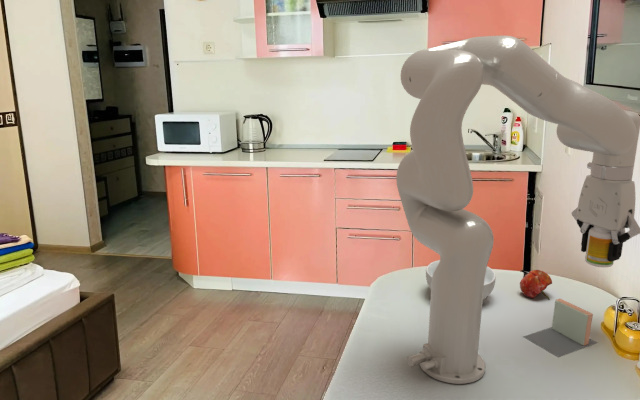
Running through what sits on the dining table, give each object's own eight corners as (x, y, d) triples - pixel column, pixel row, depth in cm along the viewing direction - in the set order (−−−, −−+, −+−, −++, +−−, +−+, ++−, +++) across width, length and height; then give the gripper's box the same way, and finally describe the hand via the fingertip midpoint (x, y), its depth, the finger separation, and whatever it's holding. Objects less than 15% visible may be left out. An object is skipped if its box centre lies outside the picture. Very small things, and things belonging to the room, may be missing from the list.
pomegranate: (549, 302, 135) (522, 271, 139) (568, 288, 130) (539, 256, 134) (533, 314, 131) (506, 281, 135) (552, 299, 126) (523, 266, 130)
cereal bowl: (411, 289, 138) (413, 263, 136) (464, 278, 144) (465, 254, 142) (452, 318, 123) (453, 290, 121) (508, 305, 129) (511, 278, 127)
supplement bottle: (616, 268, 110) (623, 224, 108) (588, 267, 111) (594, 223, 109) (608, 259, 115) (614, 216, 113) (581, 257, 116) (587, 215, 114)
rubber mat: (557, 359, 106) (558, 357, 106) (522, 338, 114) (522, 336, 114) (597, 344, 112) (597, 342, 111) (561, 325, 119) (561, 323, 119)
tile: (583, 345, 110) (587, 315, 108) (551, 328, 117) (554, 299, 115) (588, 344, 111) (592, 313, 109) (556, 327, 118) (560, 298, 116)
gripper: (562, 166, 114) (553, 245, 118) (641, 183, 99) (627, 273, 104) (586, 162, 117) (576, 240, 122) (665, 178, 102) (650, 265, 107)
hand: (599, 254), depth 113 cm, fingers closed on supplement bottle, 5 cm apart
